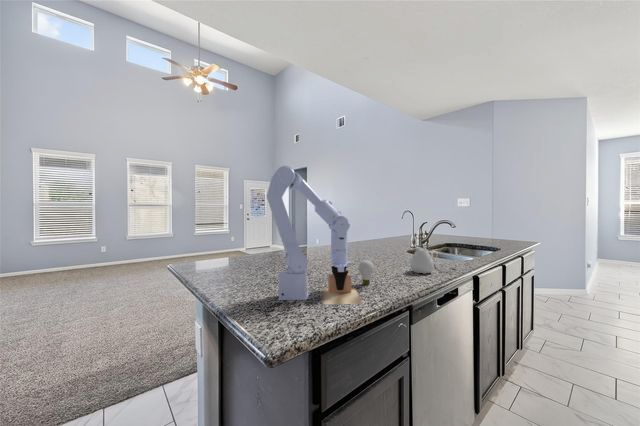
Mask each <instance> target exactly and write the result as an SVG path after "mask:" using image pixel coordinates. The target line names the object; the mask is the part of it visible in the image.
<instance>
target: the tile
mask: <svg viewBox="0 0 640 426" xmlns="http://www.w3.org/2000/svg"><path fill="white" fill-rule="evenodd" d="M327 279H328V280H327V283H328V284H327V285H328V286H327V288H328V292H329V293H337V292H351V287H352V274H351V273H348V274H347V276H346V279H345V284H344V289H343V290H337V287H336V281H335V277H334V275H333V273H330V274H329V273H328V274H327Z"/></svg>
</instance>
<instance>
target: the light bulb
mask: <svg viewBox="0 0 640 426" xmlns="http://www.w3.org/2000/svg"><path fill="white" fill-rule="evenodd" d="M374 270H375V267H374V263H372V261H370V260H368V259H365V260H362V261H360V262H359V264H358V271H359V273H360V275H361V279H362V285H364V286H370V284H371V277H372V274H373V273H374Z"/></svg>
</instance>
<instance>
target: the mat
mask: <svg viewBox="0 0 640 426" xmlns="http://www.w3.org/2000/svg"><path fill="white" fill-rule="evenodd" d="M322 305H323V306H326V305H329V306H331V305H339V306H340V305H363V303H362V300H361V298H360V295H359V294H358V292H357V289H356V287H355V286H354V287H352V286H351V292H337V293H329V292H328V287H322Z"/></svg>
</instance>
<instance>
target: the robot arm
mask: <svg viewBox="0 0 640 426" xmlns="http://www.w3.org/2000/svg"><path fill="white" fill-rule="evenodd" d="M288 188H289V189H291V190H294V191H297V192H299V193H300V194H301V195H302V196H303V197H304V198H306V200H308V201H309V202H310V203H311V204H312V205H313V206H314V212H315V213H316V214H317V215H318V216H319V217H320V218H321V219H322V220H323V221H324V222H325V223H326V224H328V225H327V226H328V228H329V229H330V234H331V235H330V249H331V250H330V251H331V252H330V253H331V254H330V257H331V259H330V265H331V267H330V269H331V272H332V273H331V274H333V275H334V277H335V281H336V287H337V290H343V289H344V284H345V279H346V276H347V274H349V270H348V269H347V267H348V265H351V264H352V262H351V261H348V230H349V229H350V226H351V224H350V223H349V219H347V217H345V216H342V212H341V211H338V210H337V208H335V207H334V206H333V202H332V201H330V200H328V199H322V198H321V197H320V196H319V195H318V194H317V193H316V192H315V191H314V189H312V187H311V186H310V185H309V184H308V183H307V182H306V181H305V179H304V178H303V177H302V176H301V175H300V174H299V172H295V170H294V169H293V168H292V167H291V166H288V165H282V166H280V167H278V168H277V170H276V171H275V173H274V174H273V176H272V177H271V178H270V182H269V186H268V188H267V194H266V200H267V202H268V205H269V208H270V211H271V214H272V216H273V219H274V222H275V225H276V227H277V231H278V234H279V237H280V239H281V243H282V245H283V250H284V254H285V258H284V260H285V263H286V265H287V267H286V268H285V271H280V272H279V275H278V301H283V300H285V301H286V300H287V301H290V300H291V301H294V300H297V301H298V300H300V301H301V300H302V301H303V300H304V301H305V300H307V301H308V299H309V292H310V291H309V292H308V274H307V273H308V272H307V271H308V269H307V268H308V265H309V261H308V258H307V256H306V255H305V254H304V253H303V252H302V249H301V247H300V245H299V243H298V240H297V238H296V234H295V231H294V229H293V226H292V223H291V219H290V217H289V215H288V212H287V208H286V206H285V203H284V200H283V196H284V194H285V192H286V191H287V189H288Z"/></svg>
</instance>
